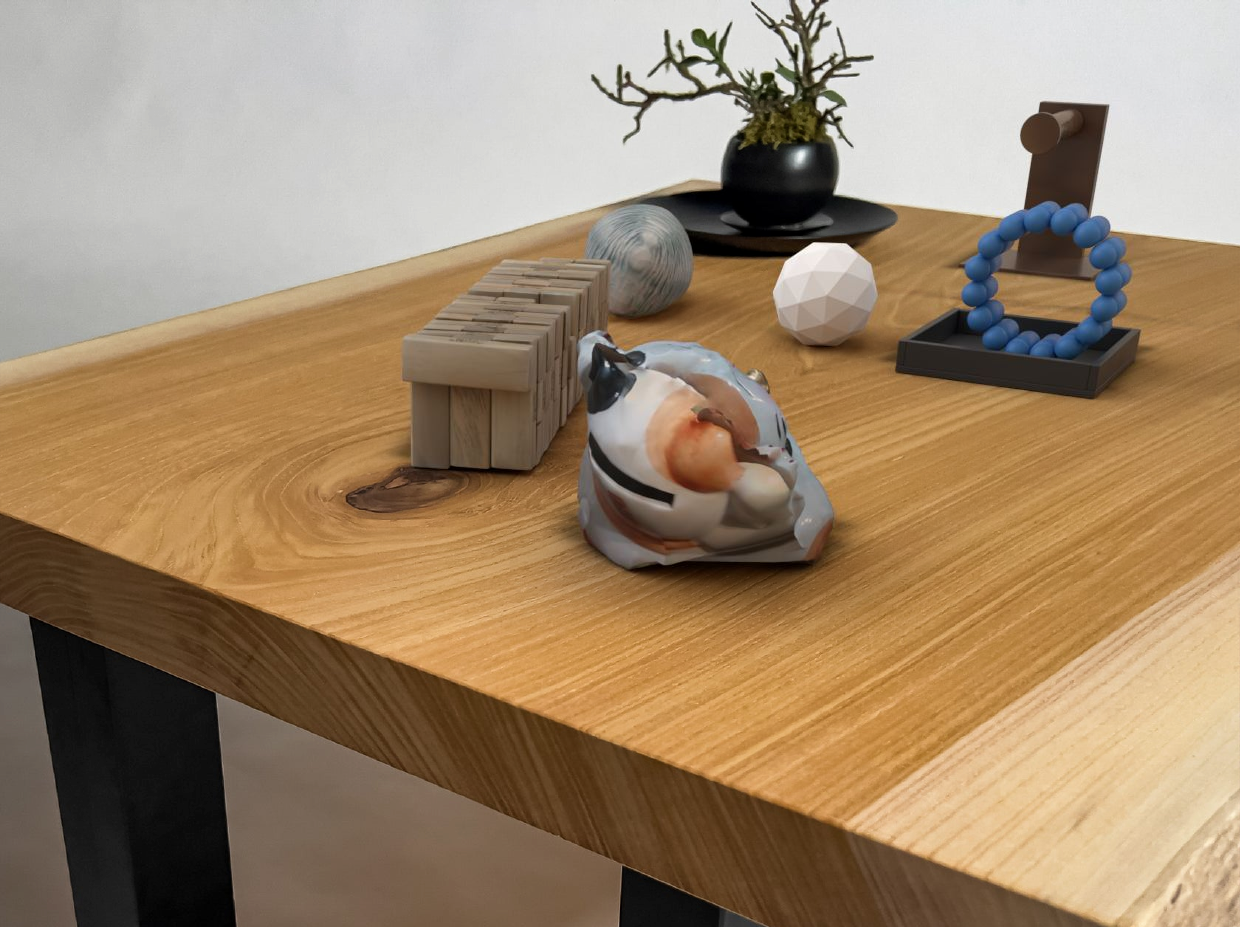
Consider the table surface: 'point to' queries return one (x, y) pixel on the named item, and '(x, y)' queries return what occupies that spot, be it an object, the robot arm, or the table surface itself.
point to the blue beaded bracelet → (1084, 237)
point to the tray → (1015, 356)
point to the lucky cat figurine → (691, 461)
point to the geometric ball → (825, 294)
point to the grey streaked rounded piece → (642, 258)
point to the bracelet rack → (1059, 185)
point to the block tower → (503, 363)
